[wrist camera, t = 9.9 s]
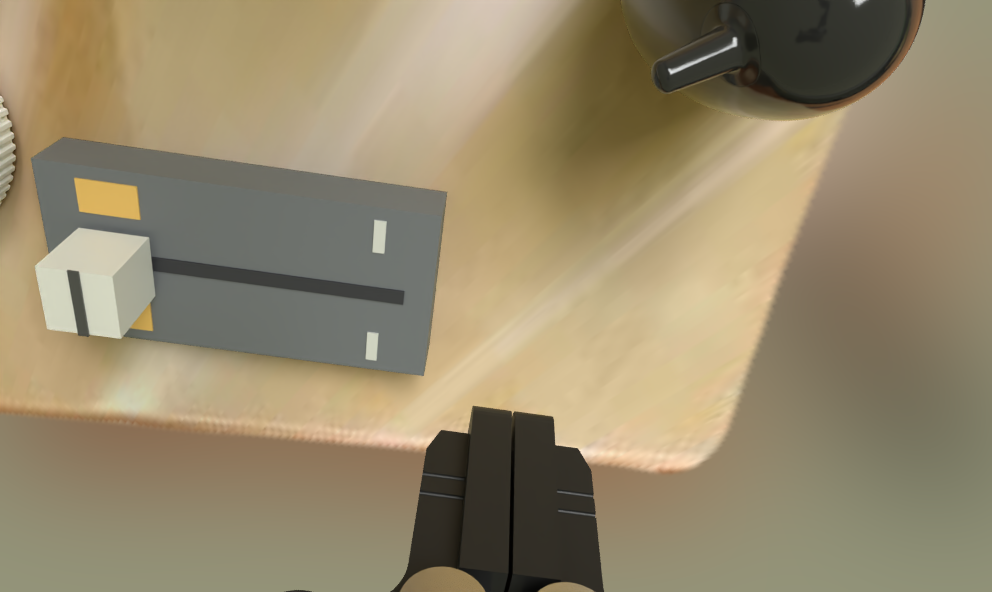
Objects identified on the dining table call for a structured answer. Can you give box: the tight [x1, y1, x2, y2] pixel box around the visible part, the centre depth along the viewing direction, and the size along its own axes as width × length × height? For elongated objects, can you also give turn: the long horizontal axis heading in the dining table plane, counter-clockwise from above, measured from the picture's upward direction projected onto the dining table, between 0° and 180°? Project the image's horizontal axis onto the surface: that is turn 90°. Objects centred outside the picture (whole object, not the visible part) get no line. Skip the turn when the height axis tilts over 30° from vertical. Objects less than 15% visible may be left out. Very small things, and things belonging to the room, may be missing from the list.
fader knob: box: [35, 228, 155, 339], centre depth 37 cm, size 4×4×4 cm
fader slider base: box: [31, 137, 447, 376], centre depth 41 cm, size 10×20×3 cm, turn 82°
